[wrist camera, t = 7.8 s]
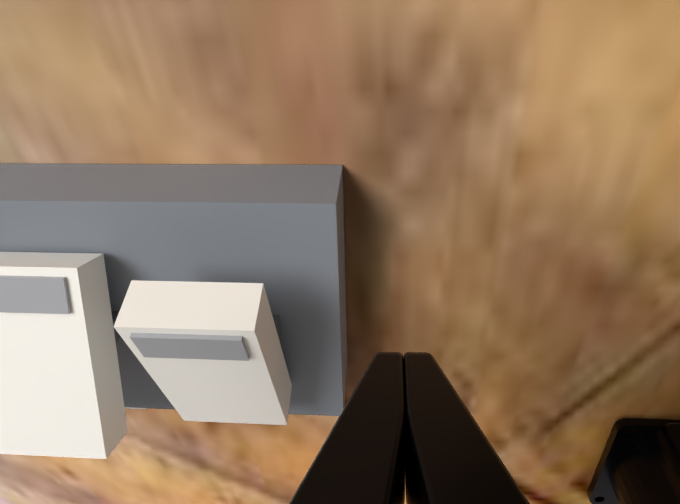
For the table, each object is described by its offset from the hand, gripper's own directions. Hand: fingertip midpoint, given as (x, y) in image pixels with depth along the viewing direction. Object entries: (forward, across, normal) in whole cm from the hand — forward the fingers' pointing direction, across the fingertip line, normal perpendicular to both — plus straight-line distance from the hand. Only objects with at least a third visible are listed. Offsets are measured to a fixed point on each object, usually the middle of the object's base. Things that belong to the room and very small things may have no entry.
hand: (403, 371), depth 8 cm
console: (+12, +12, +6) cm, 18 cm away
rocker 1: (+6, +12, +6) cm, 15 cm away
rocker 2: (+6, +6, +6) cm, 11 cm away
